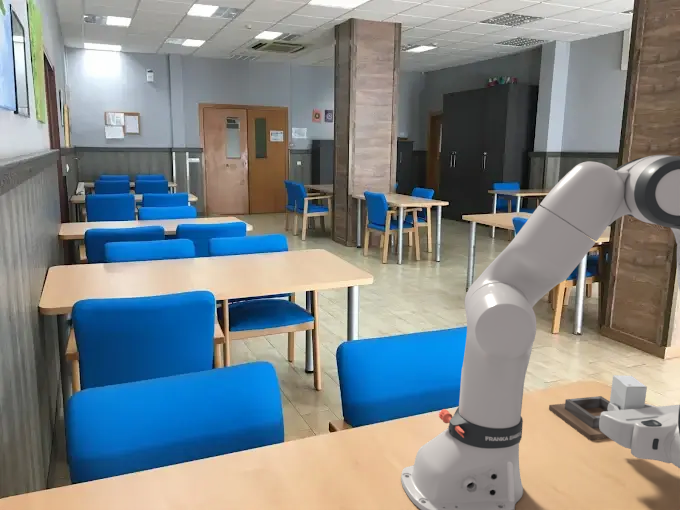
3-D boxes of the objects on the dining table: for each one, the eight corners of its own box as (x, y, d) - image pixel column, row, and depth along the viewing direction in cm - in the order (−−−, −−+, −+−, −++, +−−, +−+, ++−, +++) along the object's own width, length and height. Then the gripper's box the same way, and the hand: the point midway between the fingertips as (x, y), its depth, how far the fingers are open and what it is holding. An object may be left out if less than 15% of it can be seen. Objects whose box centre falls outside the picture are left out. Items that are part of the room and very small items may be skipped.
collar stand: (589, 440, 125) (591, 424, 124) (548, 409, 139) (550, 395, 138) (646, 433, 128) (648, 418, 128) (601, 404, 143) (602, 391, 142)
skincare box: (640, 442, 115) (648, 387, 113) (619, 442, 115) (627, 386, 113) (625, 427, 121) (632, 375, 119) (605, 427, 121) (612, 374, 119)
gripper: (724, 417, 107) (666, 387, 120) (633, 427, 102) (583, 394, 115) (719, 448, 108) (662, 415, 121) (628, 459, 103) (579, 423, 116)
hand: (623, 405), depth 118 cm, fingers closed on skincare box, 5 cm apart
